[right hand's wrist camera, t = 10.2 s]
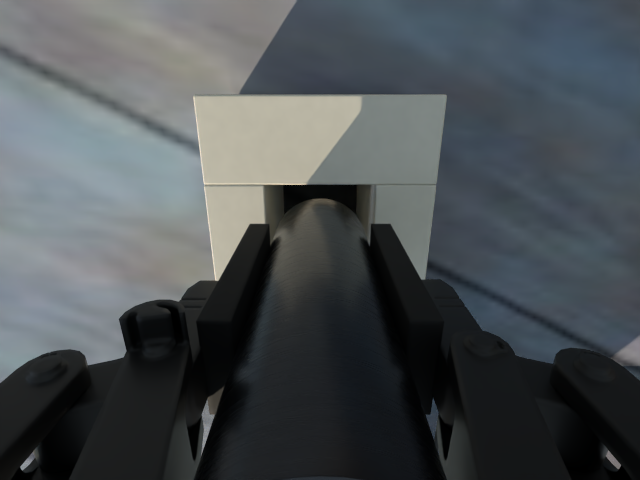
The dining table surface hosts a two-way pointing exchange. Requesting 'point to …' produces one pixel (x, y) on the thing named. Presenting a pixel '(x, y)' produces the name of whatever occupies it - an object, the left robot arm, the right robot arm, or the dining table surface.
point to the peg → (320, 367)
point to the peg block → (320, 160)
